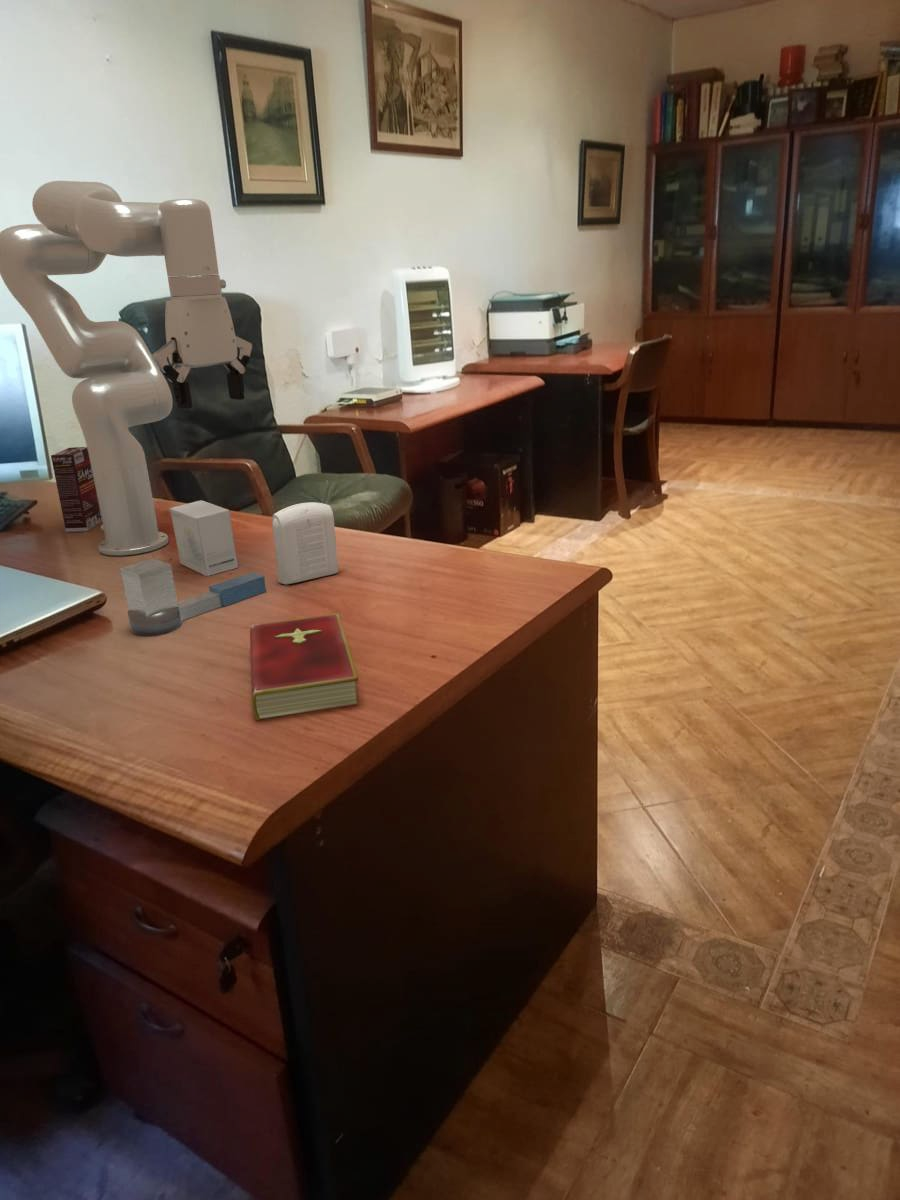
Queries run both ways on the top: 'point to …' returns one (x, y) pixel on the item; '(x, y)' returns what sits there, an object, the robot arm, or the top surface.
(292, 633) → the hardcover book
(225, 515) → the skincare box
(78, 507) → the supplement box
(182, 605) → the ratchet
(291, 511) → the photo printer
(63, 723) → the top surface
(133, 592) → the white cube
